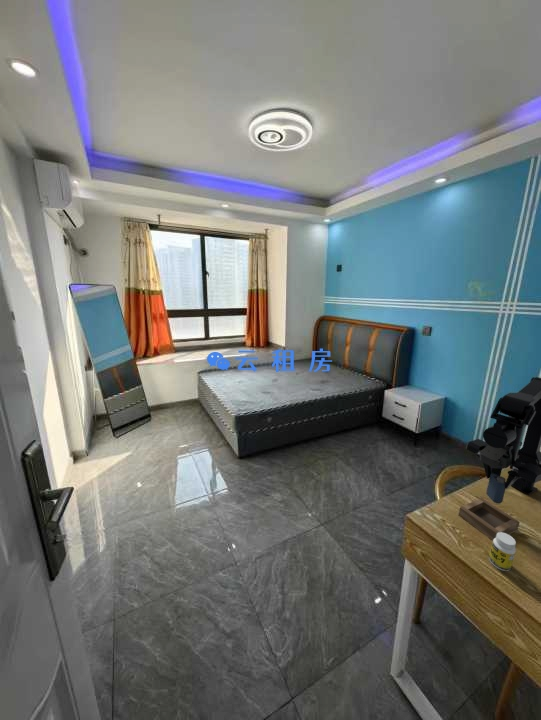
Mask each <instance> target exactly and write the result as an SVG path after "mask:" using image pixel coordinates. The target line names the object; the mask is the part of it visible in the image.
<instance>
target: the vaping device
mask: <svg viewBox="0 0 541 720" xmlns="http://www.w3.org/2000/svg"><path fill="white" fill-rule="evenodd" d="M502 469H503V467H499V468H496V469H495V468H492V471H491V474H490V478H488V484H487V487H486V495H487V497H488V498H489V499H490V500H491V501H492V502H493V503H495V504H501V503H502V502H503V501H504V496H505V492H506V490H507V489H506V488H505V484H506V481H507V478H505V477H503V476H501V474H502V471H503V470H502Z"/></svg>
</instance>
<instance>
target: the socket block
mask: <svg viewBox="0 0 541 720" xmlns="http://www.w3.org/2000/svg"><path fill="white" fill-rule="evenodd" d="M458 516H459V517H460V518H462V519H463V520H464V521H466V522H467V523H468V524H470V525H471V526H472V527H474V528H475V529H477V530H478V531H479V532H480V533H482V534H483V535H485V536H486V537H487V538H489V539H490V540H491V541H493V539H494V538H496V535H497V533H499V532H503V533H506V534H508V535H511V534H513V533H515V532H517V531H518V529H519V526H520V521H519V520H518V519H516V518H515V517H513V516H512V515H510V514H509V513H507V512H505V511H503V510H502V509H500V508H499V507H498V506H496V505H494V504H493V503H492V502H489V501H488V500H487V499H484V498H483V497H480V498H478V499H475V500H474V501H471V502H469V503H466V504H465V505H464V504H463V506H461V507H459V511H458Z"/></svg>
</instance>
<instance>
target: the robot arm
mask: <svg viewBox="0 0 541 720" xmlns="http://www.w3.org/2000/svg"><path fill="white" fill-rule="evenodd" d="M490 418H491V419H493V420H496V421H495V422H494V423H493V425H491V426H489V427H486V429H485V430H483V433H482V438H483V440H482V439H480V438H477V439H473V440H471V441H468V442H467V443H466V446H465V449H466V450H467V451H469V452H471V453H473V454H475V456H476V457H477V458H479V459H480V463H482V465H483V469H484V472H485V476H486V479H489V478H490V474H491V471H492V468H495V469H496V468H499V467H502V468H504V469H508V468H509V469H510V470H507V474H508V475H507V478H506V480H505V482H506V484H505V488H506V489H505V490H507V489H509V488H510V487H513V488H514V489H516V490H517V491H519V492H522V493H523V494H526V495H530V494H533V493H536V492H537V491H538V490H539V488H537V487H536V486H535V484H536V483H539V482H540V481H541V377H540V376H532V377H531V379H530V381H529V382H528V383H527V384H526V385H525V386H524V387H522V388H521V389H520V390H519V391H517V392H509V393H506V394H505V395H503V396H501V397H500V398H499V399H498V401H497V403H496V404H495V407H494V409H493V411H492V413H491V415H490ZM526 426H527V427H526ZM525 428H526V432H525V435H524V439H523V442H521V441H522V436H523V433H524V429H525ZM520 447H521V448H520Z"/></svg>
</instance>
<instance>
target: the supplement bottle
mask: <svg viewBox="0 0 541 720" xmlns="http://www.w3.org/2000/svg"><path fill="white" fill-rule="evenodd" d="M516 544H517V542H516V539H515V538H513V536H511V534H509V535H508V534H506V533H503V532H499V533H497V535H496V538H494V539H493V540H492V543H491V547H490V550H489V553H488V554H489V555H488V560H489V562H490V563H491V565H493V566H494V567H495V568H497V569H498V570H500V571H503V572H509V571H510V570H512V566H513V563H514V559H515V555H516V553H517V552H516V550H517V549H516Z"/></svg>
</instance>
